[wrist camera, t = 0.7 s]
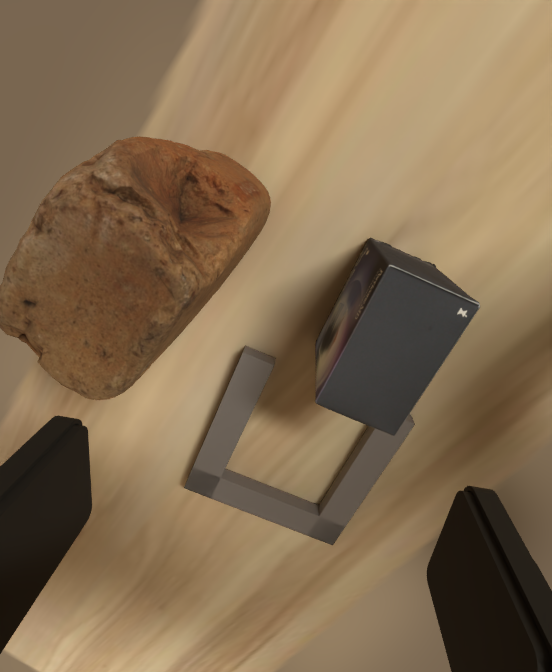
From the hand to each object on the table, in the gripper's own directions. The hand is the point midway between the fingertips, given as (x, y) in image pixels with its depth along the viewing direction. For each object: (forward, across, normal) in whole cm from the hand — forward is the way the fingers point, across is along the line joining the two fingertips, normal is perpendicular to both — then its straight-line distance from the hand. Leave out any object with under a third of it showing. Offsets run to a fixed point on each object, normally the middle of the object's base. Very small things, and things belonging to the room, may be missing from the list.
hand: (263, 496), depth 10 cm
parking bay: (+26, -2, +18) cm, 32 cm away
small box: (+26, -6, +2) cm, 27 cm away
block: (+26, +8, -3) cm, 27 cm away
